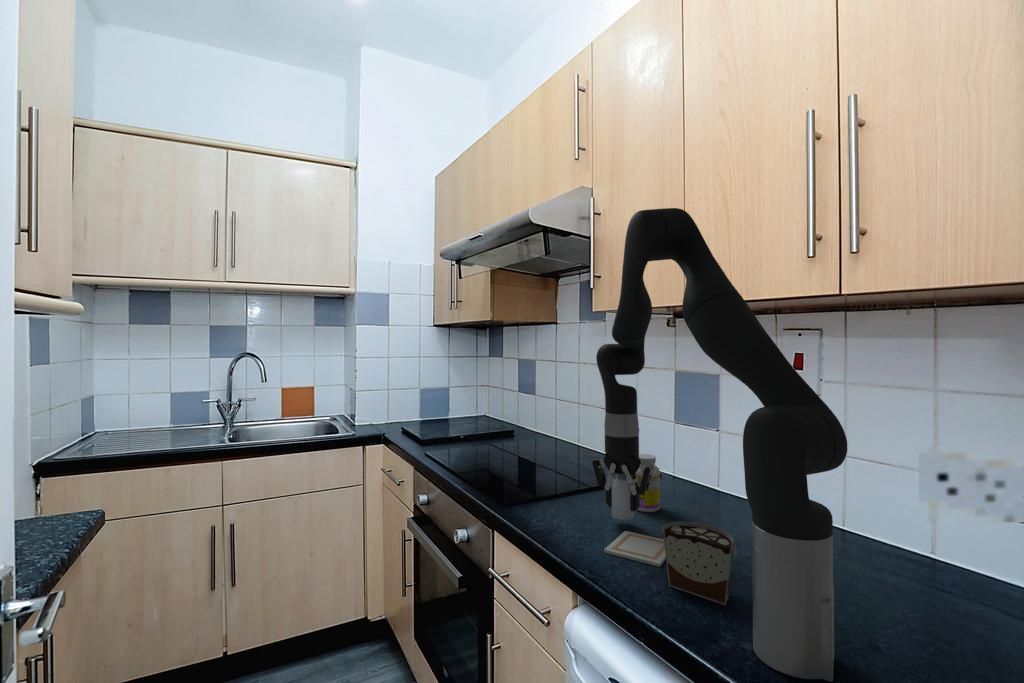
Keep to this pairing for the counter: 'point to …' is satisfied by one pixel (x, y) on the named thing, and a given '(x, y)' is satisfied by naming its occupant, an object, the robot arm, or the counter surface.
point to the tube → (621, 497)
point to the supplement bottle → (650, 485)
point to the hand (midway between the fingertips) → (622, 507)
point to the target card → (638, 548)
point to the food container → (699, 559)
